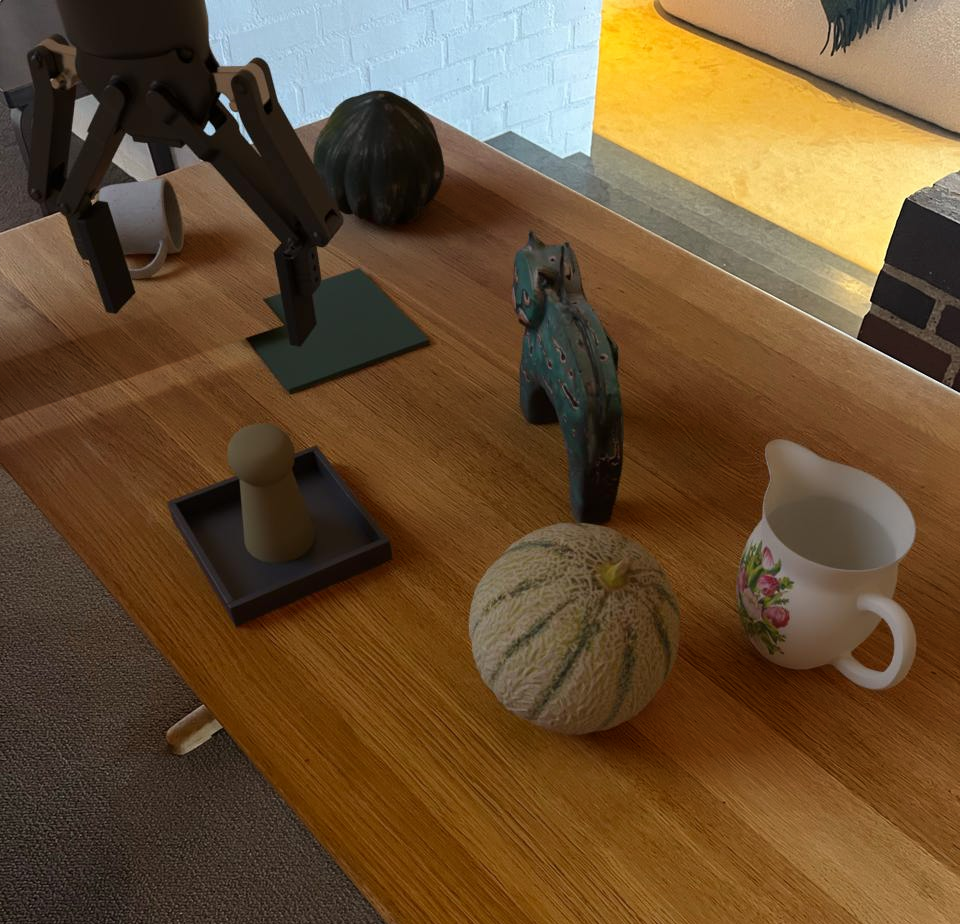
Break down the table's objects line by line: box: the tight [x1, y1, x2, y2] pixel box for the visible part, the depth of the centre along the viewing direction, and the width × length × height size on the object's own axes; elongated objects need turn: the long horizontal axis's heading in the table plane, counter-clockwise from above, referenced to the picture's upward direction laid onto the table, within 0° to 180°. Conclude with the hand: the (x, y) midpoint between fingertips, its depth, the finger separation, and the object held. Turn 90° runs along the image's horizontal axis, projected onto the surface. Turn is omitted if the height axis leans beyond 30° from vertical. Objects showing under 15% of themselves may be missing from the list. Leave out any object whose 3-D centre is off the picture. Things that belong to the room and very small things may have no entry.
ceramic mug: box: [94, 177, 185, 280], centre depth 111 cm, size 11×8×8 cm
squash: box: [312, 89, 445, 228], centre depth 115 cm, size 14×15×15 cm
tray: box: [166, 444, 393, 628], centre depth 84 cm, size 14×14×2 cm
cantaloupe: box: [468, 522, 681, 736], centre depth 69 cm, size 15×15×15 cm
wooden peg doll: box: [226, 422, 315, 563], centre depth 81 cm, size 6×6×11 cm
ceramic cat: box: [511, 229, 625, 525], centre depth 84 cm, size 20×6×20 cm, turn 14°
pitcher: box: [735, 438, 917, 691], centre depth 72 cm, size 11×18×14 cm, turn 24°
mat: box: [245, 267, 431, 395], centre depth 104 cm, size 16×16×1 cm
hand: (210, 318), depth 67 cm, fingers open, 13 cm apart
